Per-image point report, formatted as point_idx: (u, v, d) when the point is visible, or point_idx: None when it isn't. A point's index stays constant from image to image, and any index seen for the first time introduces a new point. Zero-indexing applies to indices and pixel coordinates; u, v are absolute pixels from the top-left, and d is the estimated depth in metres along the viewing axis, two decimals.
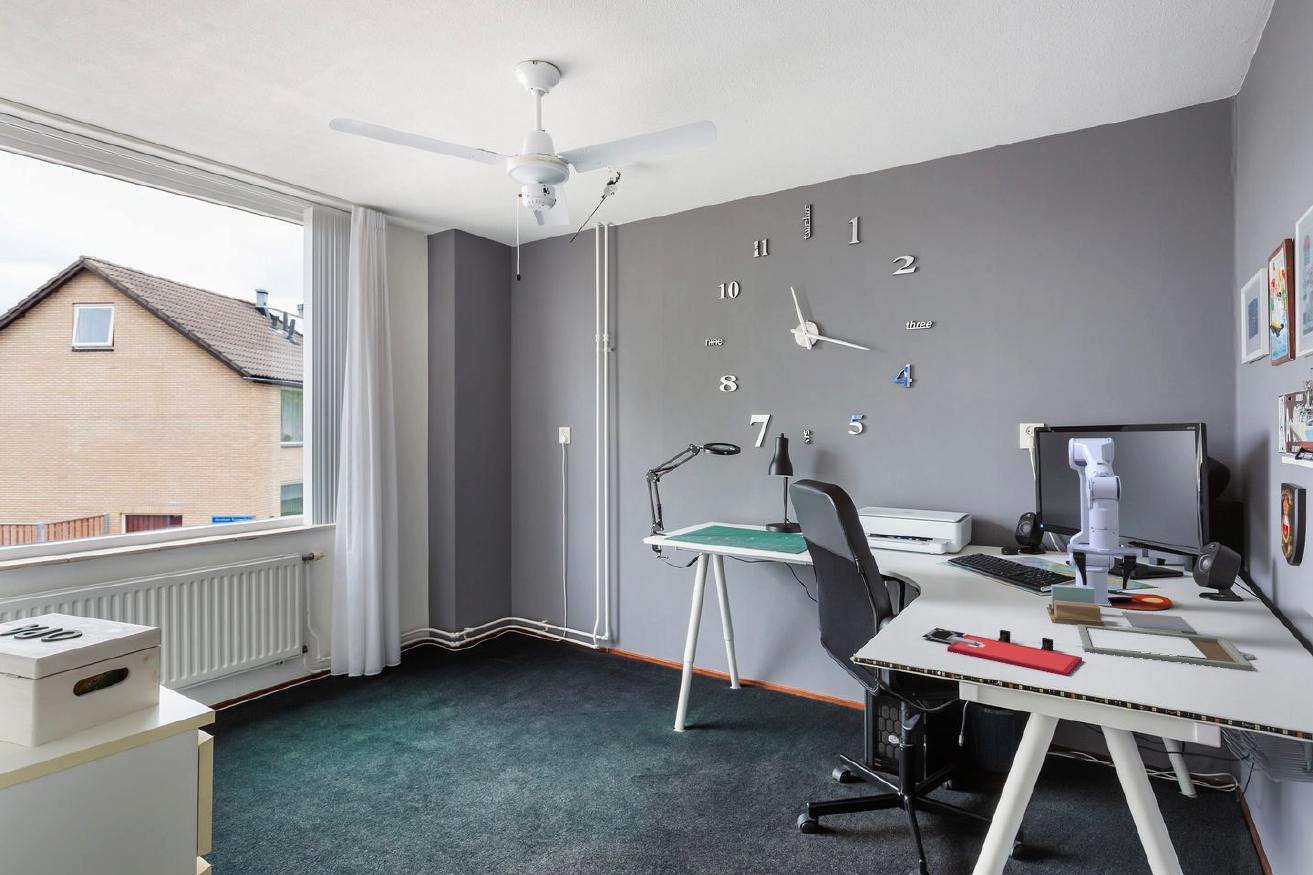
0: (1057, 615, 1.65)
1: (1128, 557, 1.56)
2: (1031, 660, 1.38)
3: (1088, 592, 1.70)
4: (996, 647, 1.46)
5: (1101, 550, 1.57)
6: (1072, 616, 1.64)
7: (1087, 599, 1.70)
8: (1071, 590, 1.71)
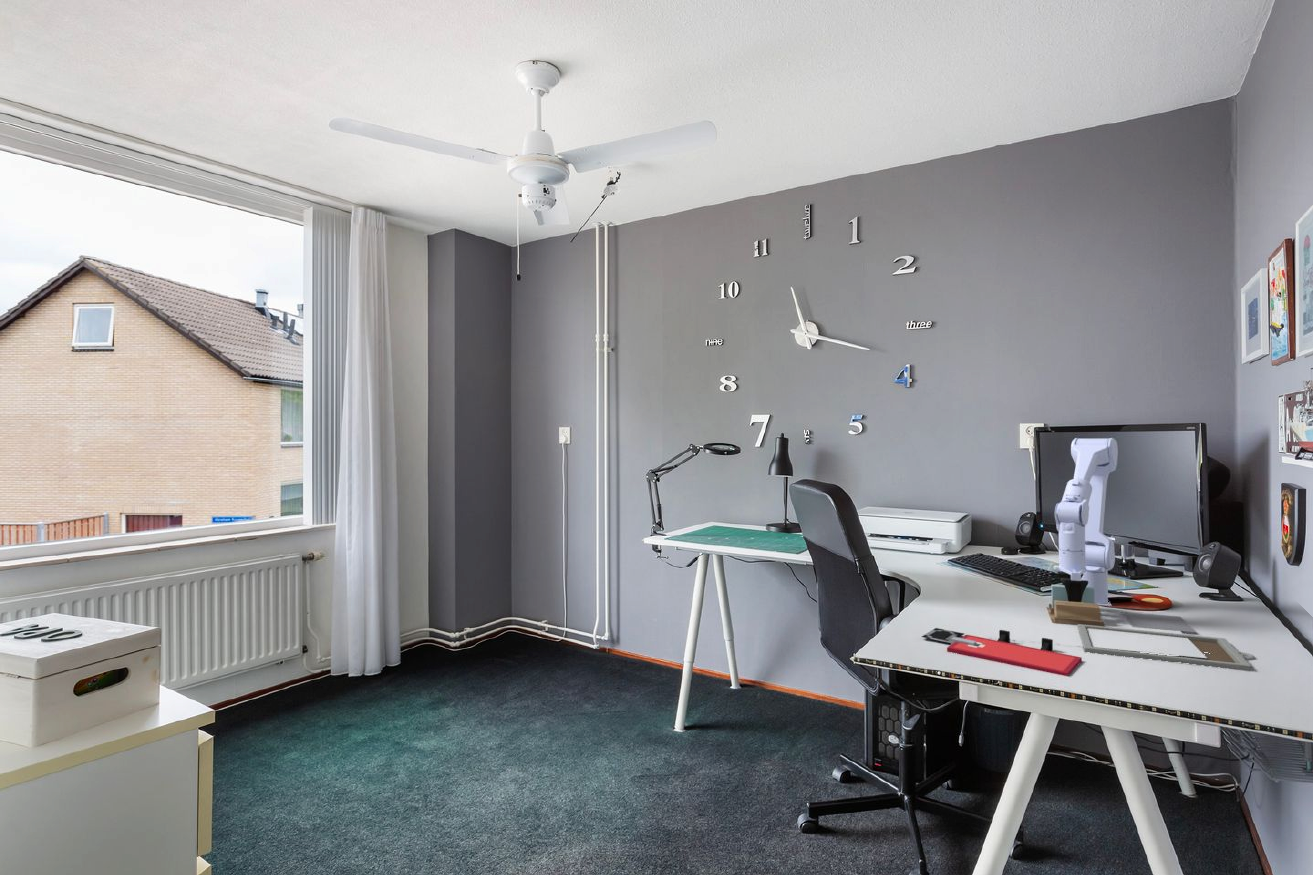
0: (1057, 615, 1.65)
1: (1070, 578, 1.68)
2: (1031, 660, 1.38)
3: (1088, 592, 1.70)
4: (996, 647, 1.46)
5: (1054, 566, 1.74)
6: (1072, 616, 1.64)
7: (1087, 599, 1.70)
8: None
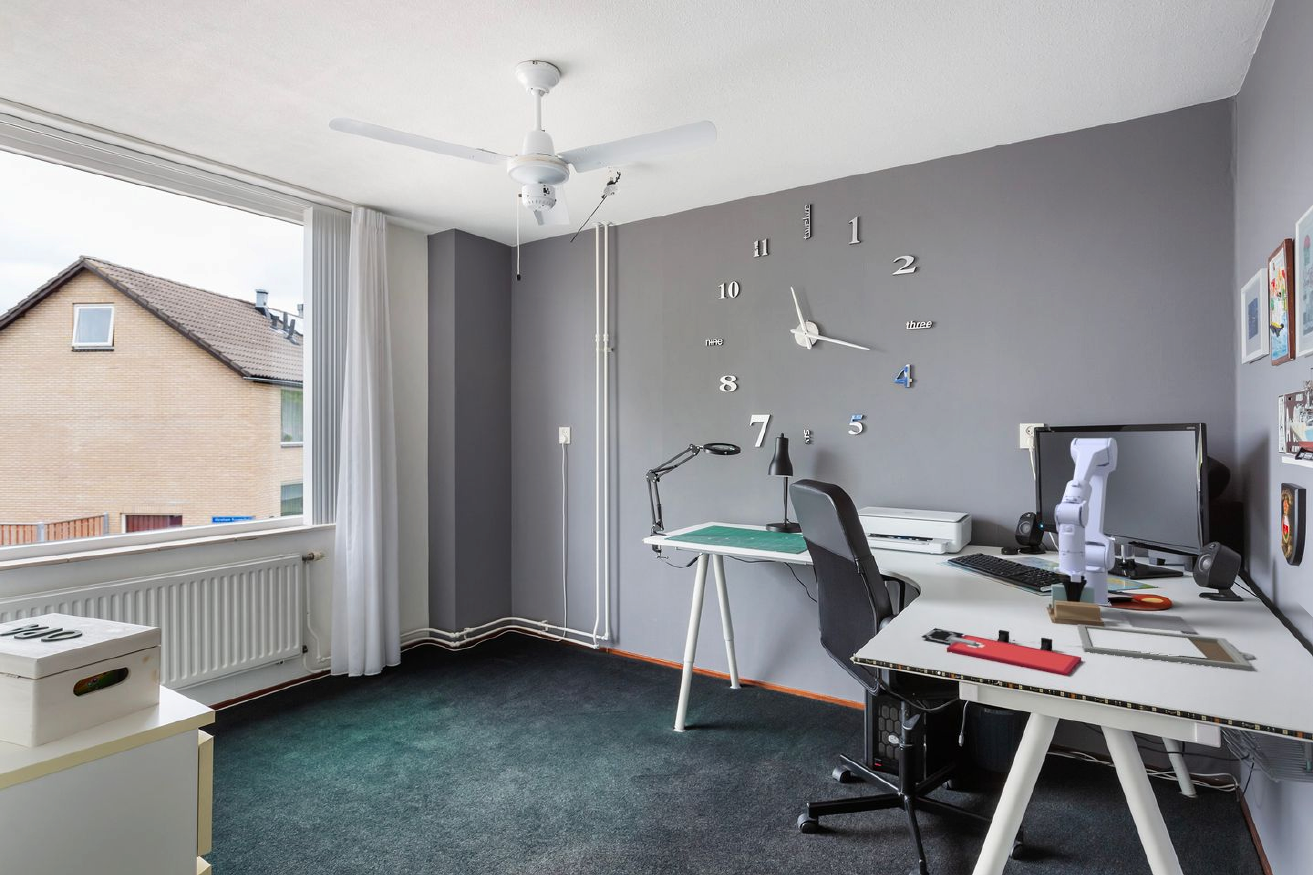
0: (1057, 615, 1.65)
1: (1069, 577, 1.71)
2: (1031, 660, 1.37)
3: (1088, 592, 1.70)
4: (995, 647, 1.45)
5: (1054, 567, 1.74)
6: (1072, 616, 1.64)
7: (1087, 599, 1.70)
8: None
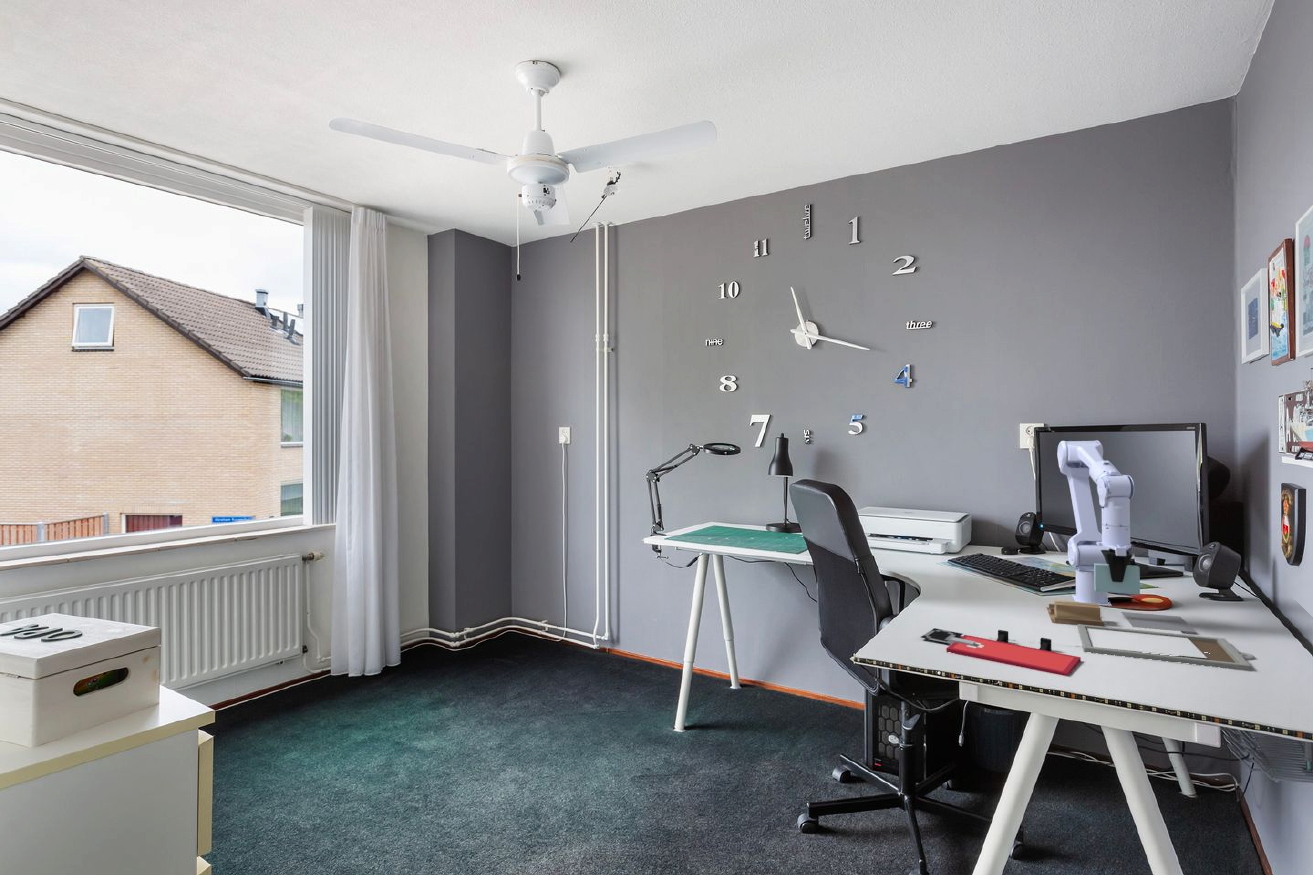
0: (1057, 615, 1.65)
1: (1113, 551, 1.66)
2: (1030, 660, 1.37)
3: (1133, 570, 1.65)
4: (995, 647, 1.45)
5: (1096, 542, 1.69)
6: (1072, 616, 1.64)
7: (1132, 578, 1.65)
8: None
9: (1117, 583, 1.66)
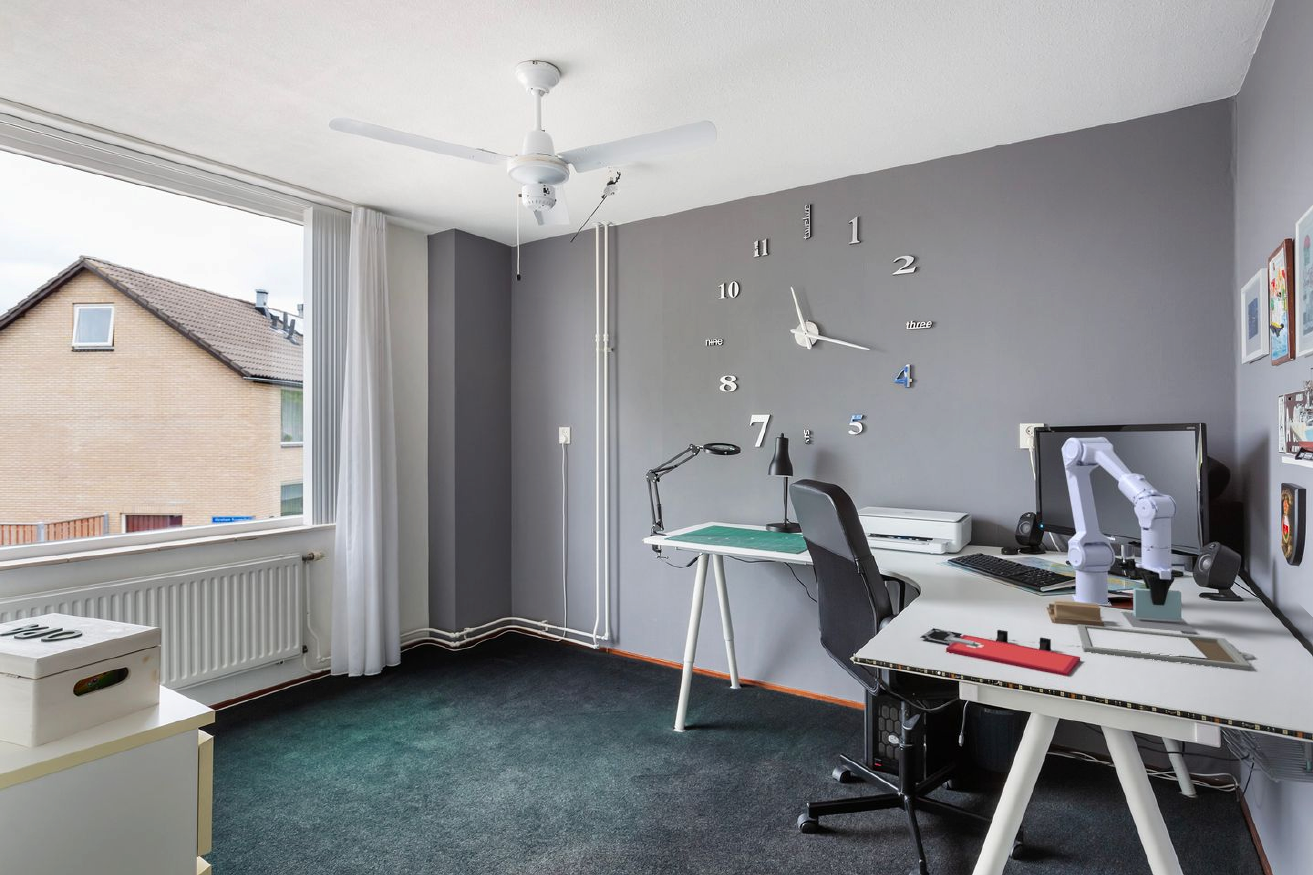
0: (1057, 615, 1.65)
1: (1155, 574, 1.62)
2: (1030, 660, 1.37)
3: (1174, 595, 1.61)
4: (994, 647, 1.45)
5: (1136, 564, 1.65)
6: (1072, 616, 1.64)
7: (1173, 603, 1.61)
8: None
9: (1158, 609, 1.62)
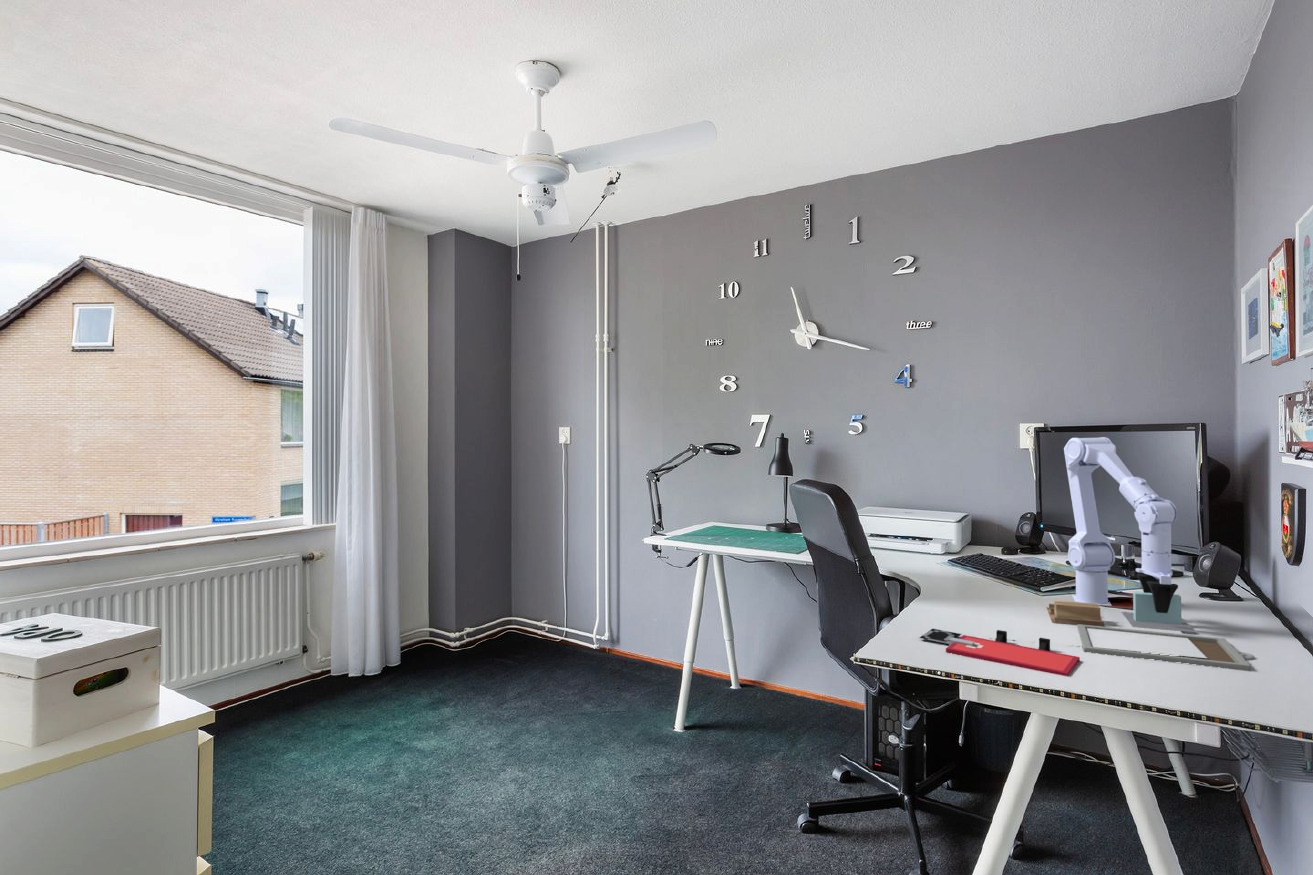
0: (1057, 615, 1.65)
1: (1158, 581, 1.59)
2: (1030, 660, 1.37)
3: (1174, 599, 1.61)
4: (994, 647, 1.45)
5: (1136, 569, 1.65)
6: (1072, 616, 1.64)
7: (1173, 607, 1.61)
8: None
9: (1158, 613, 1.62)
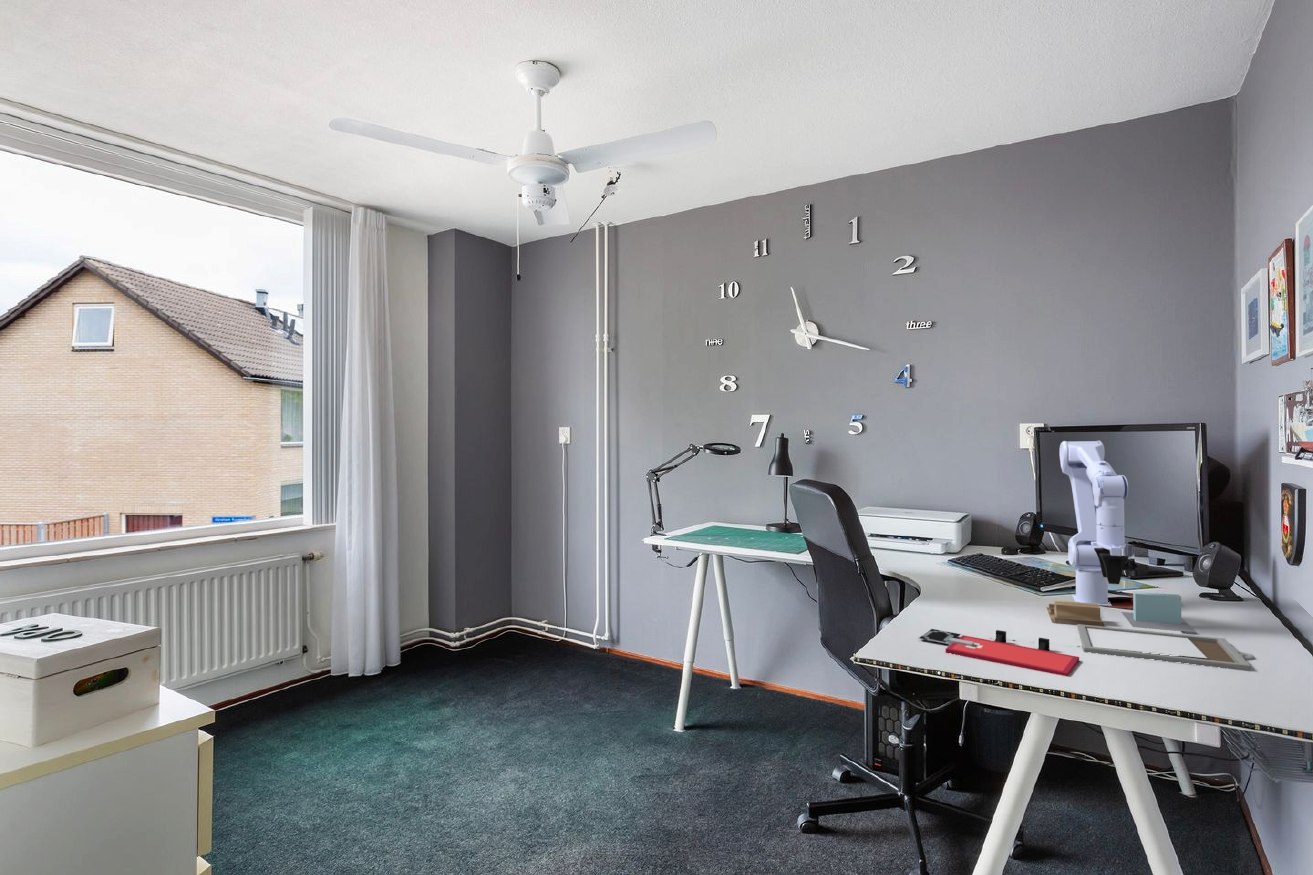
0: (1057, 615, 1.65)
1: (1109, 553, 1.64)
2: (1030, 660, 1.37)
3: (1174, 599, 1.61)
4: (993, 647, 1.45)
5: (1091, 542, 1.70)
6: (1072, 616, 1.64)
7: (1173, 607, 1.61)
8: (1156, 598, 1.62)
9: (1158, 613, 1.62)
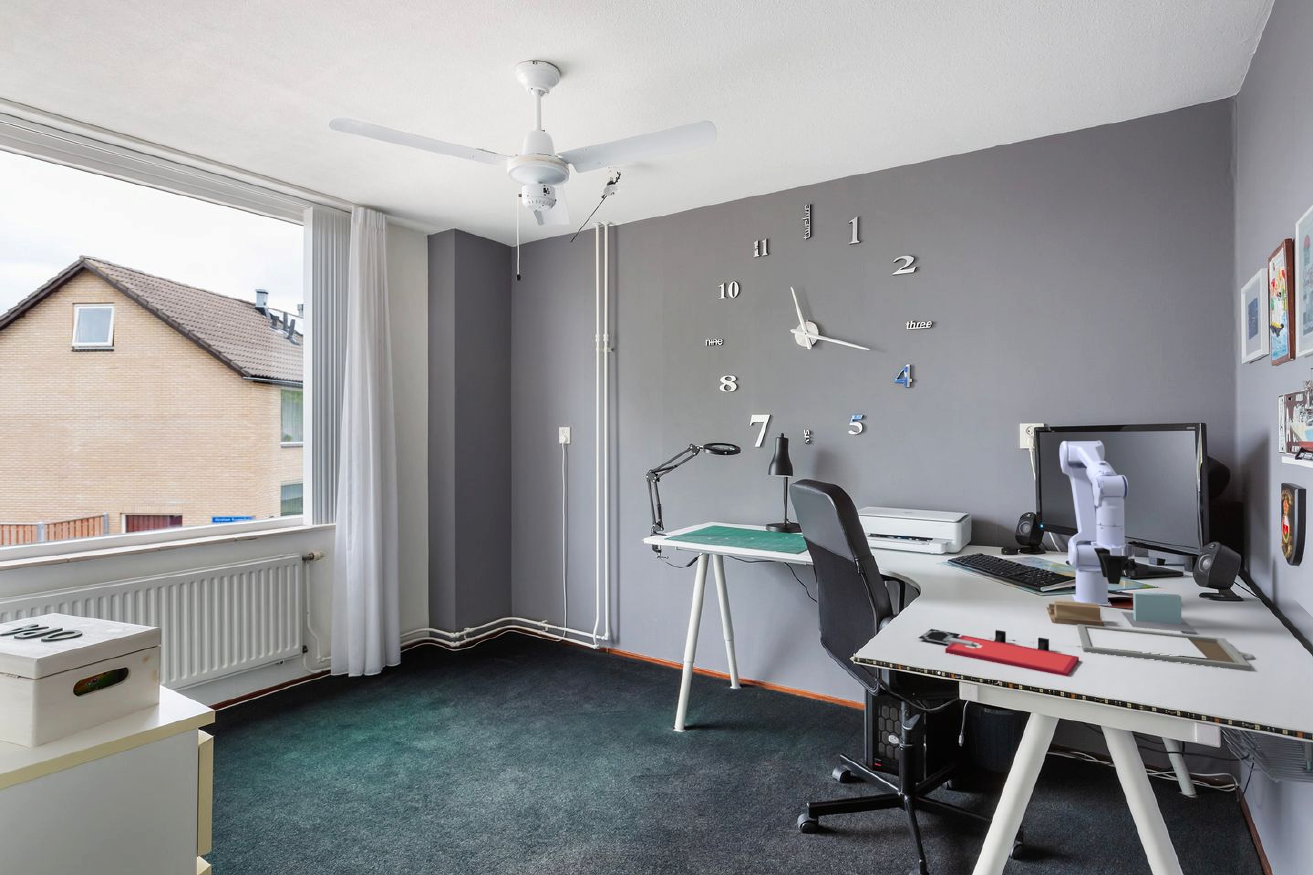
0: (1057, 615, 1.65)
1: (1109, 553, 1.64)
2: (1030, 660, 1.37)
3: (1174, 599, 1.61)
4: (993, 647, 1.45)
5: (1091, 542, 1.70)
6: (1072, 616, 1.64)
7: (1173, 607, 1.61)
8: (1156, 598, 1.62)
9: (1158, 613, 1.62)
